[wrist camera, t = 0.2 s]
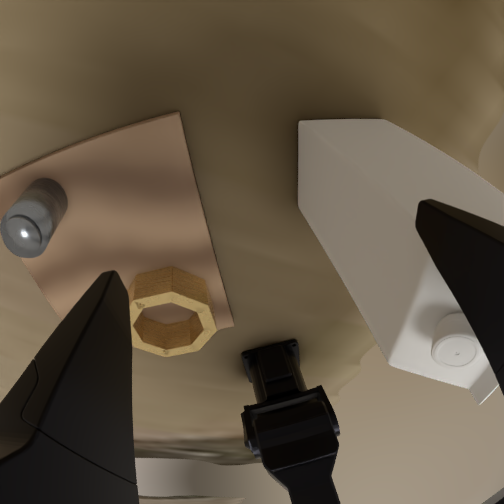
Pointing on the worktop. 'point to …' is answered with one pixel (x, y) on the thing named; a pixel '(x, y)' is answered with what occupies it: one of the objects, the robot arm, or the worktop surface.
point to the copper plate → (123, 216)
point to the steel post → (34, 218)
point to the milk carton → (394, 239)
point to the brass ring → (178, 292)
